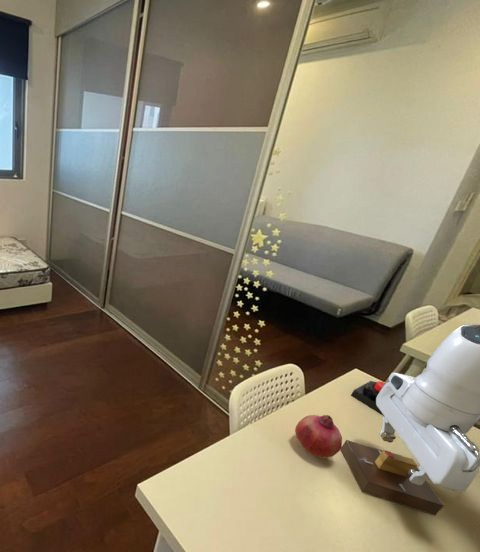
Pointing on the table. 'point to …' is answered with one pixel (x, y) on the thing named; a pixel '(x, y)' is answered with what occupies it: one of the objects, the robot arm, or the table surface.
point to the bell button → (379, 385)
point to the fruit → (319, 435)
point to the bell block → (367, 395)
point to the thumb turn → (395, 463)
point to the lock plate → (388, 480)
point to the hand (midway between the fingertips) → (398, 458)
